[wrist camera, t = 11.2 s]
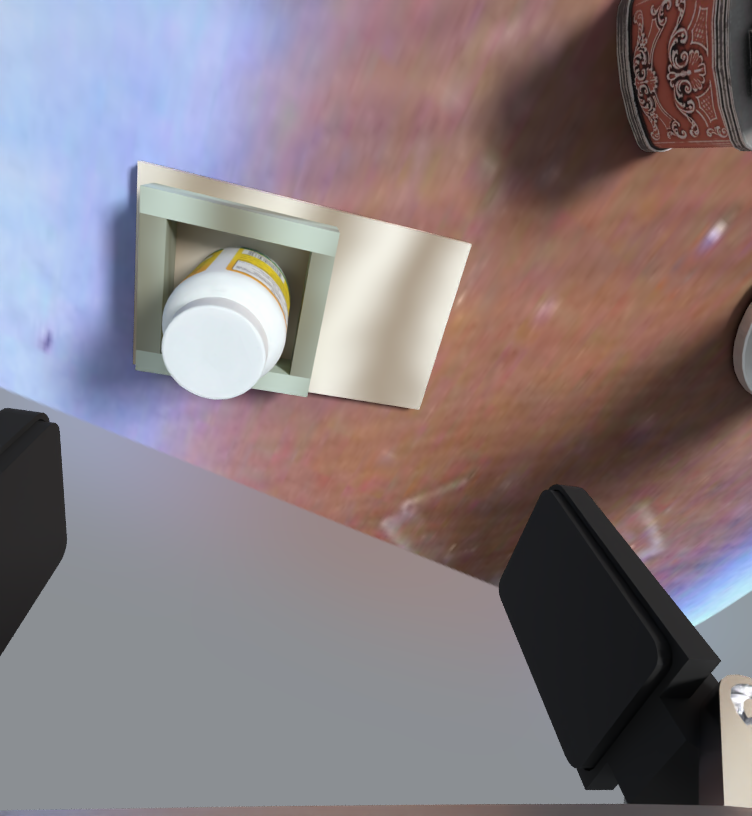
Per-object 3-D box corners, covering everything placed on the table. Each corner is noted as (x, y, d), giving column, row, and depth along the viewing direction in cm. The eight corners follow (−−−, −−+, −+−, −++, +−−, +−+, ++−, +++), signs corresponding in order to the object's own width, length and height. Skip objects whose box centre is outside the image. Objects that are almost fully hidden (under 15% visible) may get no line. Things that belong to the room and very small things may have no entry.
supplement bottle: (285, 241, 26) (276, 282, 18) (295, 334, 29) (292, 409, 20) (183, 246, 26) (125, 291, 17) (203, 341, 28) (160, 420, 20)
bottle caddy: (467, 242, 28) (485, 251, 26) (416, 404, 33) (427, 427, 30) (142, 160, 24) (121, 161, 22) (136, 359, 29) (119, 380, 26)
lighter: (689, 134, 27) (871, 125, 19) (633, 163, 28) (786, 167, 19) (670, -36, 24) (888, -149, 15) (605, -1, 24) (781, -90, 15)
